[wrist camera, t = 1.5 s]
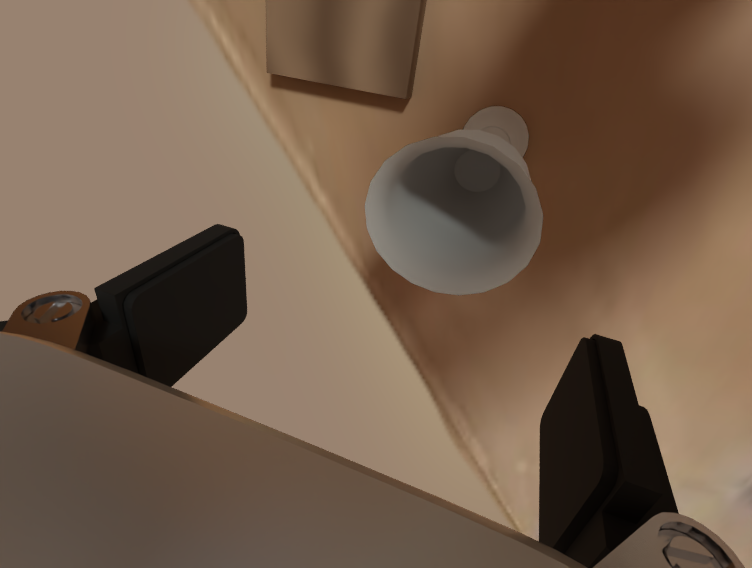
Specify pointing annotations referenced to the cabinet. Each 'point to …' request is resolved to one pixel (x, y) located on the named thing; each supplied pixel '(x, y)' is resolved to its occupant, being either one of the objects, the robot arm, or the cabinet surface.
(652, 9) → the cabinet surface
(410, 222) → the chalice
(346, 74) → the walnut board
